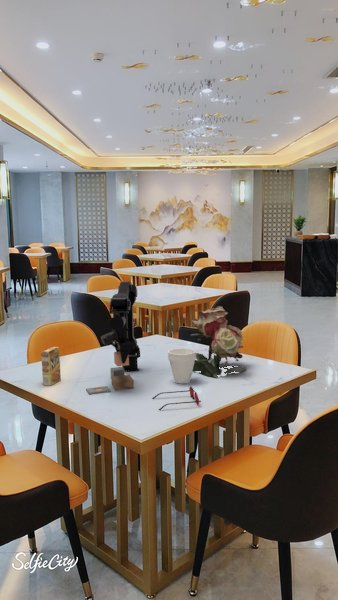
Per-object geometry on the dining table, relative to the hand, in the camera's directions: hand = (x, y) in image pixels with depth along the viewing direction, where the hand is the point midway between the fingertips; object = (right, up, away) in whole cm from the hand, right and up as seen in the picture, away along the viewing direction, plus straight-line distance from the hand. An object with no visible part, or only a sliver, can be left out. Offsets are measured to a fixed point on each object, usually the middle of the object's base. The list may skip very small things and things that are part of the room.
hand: (121, 361), depth 218 cm
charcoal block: (-3, -9, +12) cm, 15 cm away
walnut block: (0, -11, +2) cm, 11 cm away
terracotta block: (0, -1, 0) cm, 1 cm away
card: (-9, -12, -4) cm, 15 cm away
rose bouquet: (+44, -7, +26) cm, 52 cm away
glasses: (+23, -14, -20) cm, 33 cm away
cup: (+26, -10, +7) cm, 29 cm away
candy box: (-32, -10, +8) cm, 34 cm away
